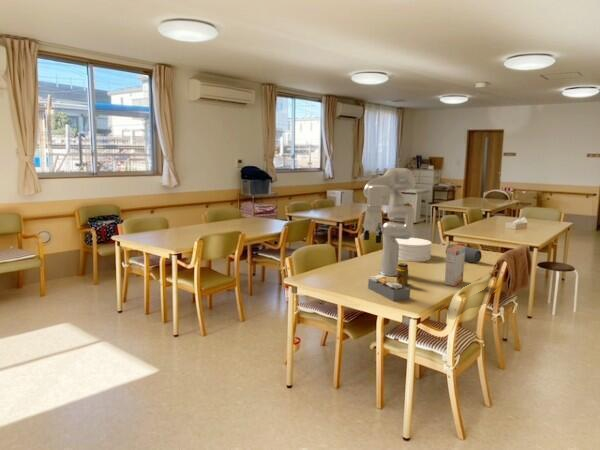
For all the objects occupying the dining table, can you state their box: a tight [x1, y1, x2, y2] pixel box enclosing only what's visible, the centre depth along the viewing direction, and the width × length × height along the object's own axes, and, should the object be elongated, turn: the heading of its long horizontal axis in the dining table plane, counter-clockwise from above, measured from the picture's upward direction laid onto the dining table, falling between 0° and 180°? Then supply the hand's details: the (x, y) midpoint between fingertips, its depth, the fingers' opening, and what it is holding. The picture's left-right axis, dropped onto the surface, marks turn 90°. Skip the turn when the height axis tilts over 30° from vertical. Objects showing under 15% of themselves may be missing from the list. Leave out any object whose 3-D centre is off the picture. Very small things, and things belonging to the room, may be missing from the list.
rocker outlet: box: [386, 282, 402, 289], centre depth 229 cm, size 6×4×2 cm
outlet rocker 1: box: [370, 273, 387, 282], centre depth 242 cm, size 6×4×2 cm
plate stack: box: [396, 237, 432, 262], centre depth 323 cm, size 28×28×12 cm
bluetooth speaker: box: [445, 244, 483, 263], centre depth 315 cm, size 23×9×10 cm, turn 37°
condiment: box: [396, 262, 412, 288], centre depth 253 cm, size 7×8×12 cm
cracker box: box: [444, 244, 466, 287], centre depth 258 cm, size 14×6×21 cm, turn 141°
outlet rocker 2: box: [379, 278, 395, 284], centre depth 236 cm, size 6×4×2 cm
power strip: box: [367, 278, 411, 302], centre depth 237 cm, size 10×23×5 cm, turn 24°
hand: (372, 241), depth 241 cm, fingers open, 9 cm apart
